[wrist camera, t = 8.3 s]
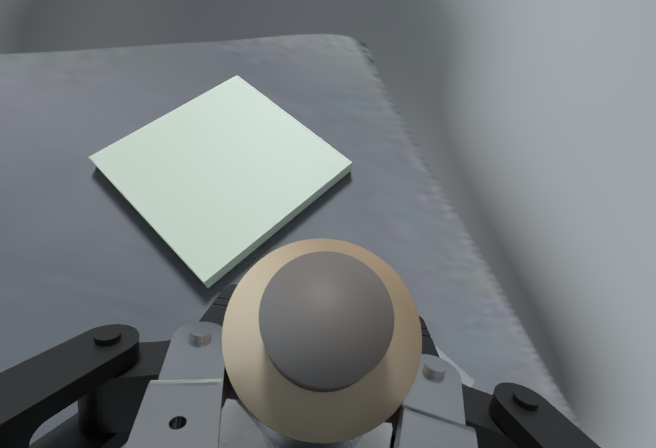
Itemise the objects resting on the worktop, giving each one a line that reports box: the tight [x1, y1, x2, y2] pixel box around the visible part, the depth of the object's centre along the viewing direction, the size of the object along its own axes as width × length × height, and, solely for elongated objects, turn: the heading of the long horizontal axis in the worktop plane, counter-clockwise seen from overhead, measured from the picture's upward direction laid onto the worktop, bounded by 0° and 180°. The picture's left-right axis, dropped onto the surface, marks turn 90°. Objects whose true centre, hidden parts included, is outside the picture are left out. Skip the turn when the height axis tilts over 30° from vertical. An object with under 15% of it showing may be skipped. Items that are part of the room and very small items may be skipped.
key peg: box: [222, 238, 422, 444], centre depth 11 cm, size 4×4×11 cm
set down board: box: [89, 75, 352, 288], centre depth 25 cm, size 13×13×1 cm
